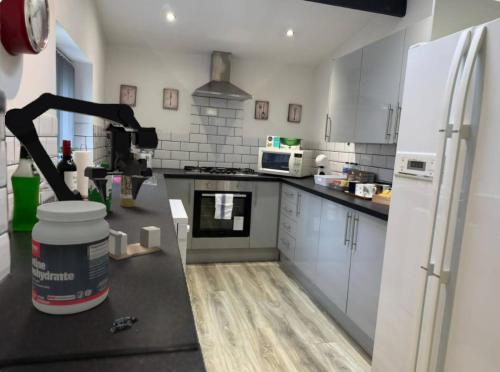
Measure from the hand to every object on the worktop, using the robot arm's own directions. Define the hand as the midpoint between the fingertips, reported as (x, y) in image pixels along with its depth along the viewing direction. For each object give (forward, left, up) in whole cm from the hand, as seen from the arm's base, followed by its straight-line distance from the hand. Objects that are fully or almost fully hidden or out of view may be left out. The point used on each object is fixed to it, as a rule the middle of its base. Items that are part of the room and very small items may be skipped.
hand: (119, 201), depth 102 cm
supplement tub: (-25, -30, -13) cm, 41 cm away
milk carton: (+15, +45, -13) cm, 49 cm away
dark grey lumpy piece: (-22, -45, -13) cm, 52 cm away
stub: (+4, -10, -12) cm, 16 cm away
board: (-2, -10, -12) cm, 16 cm away
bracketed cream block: (-6, -10, -12) cm, 17 cm away
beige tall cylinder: (+30, +49, -13) cm, 59 cm away
